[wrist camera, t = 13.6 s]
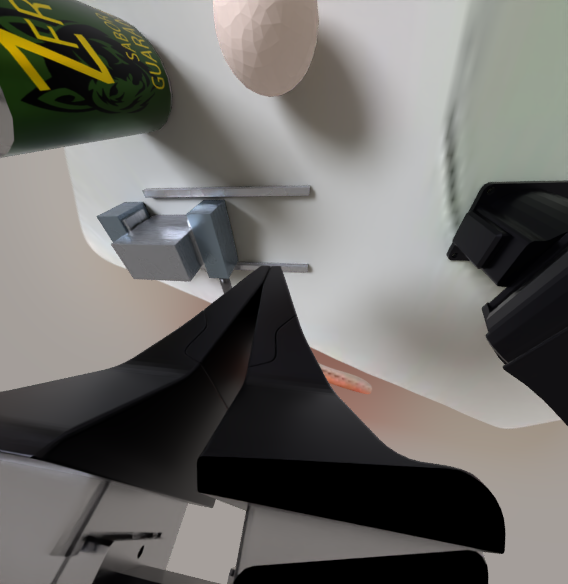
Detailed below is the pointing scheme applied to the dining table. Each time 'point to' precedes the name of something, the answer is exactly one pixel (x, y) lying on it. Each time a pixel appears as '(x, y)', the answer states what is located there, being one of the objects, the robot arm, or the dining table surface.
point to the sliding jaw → (214, 239)
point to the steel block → (160, 249)
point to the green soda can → (75, 77)
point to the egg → (267, 41)
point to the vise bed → (136, 213)
